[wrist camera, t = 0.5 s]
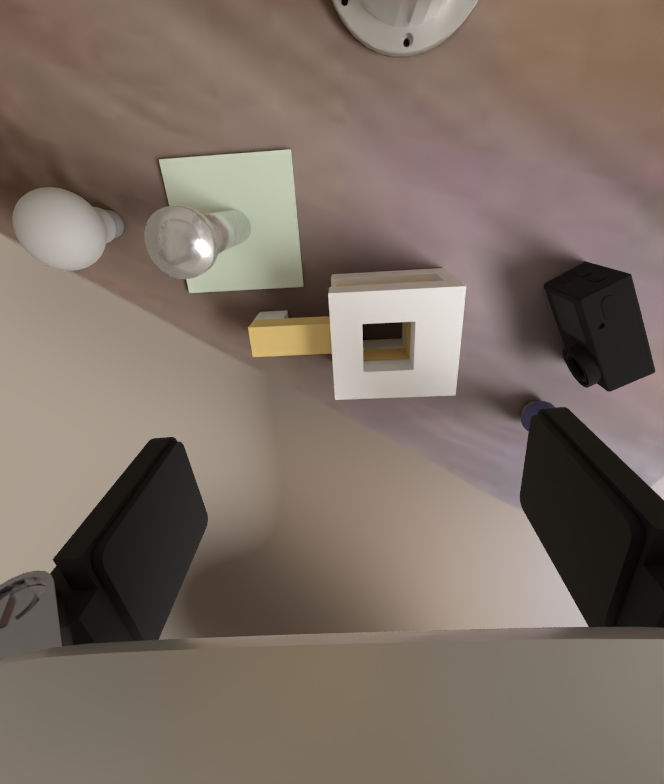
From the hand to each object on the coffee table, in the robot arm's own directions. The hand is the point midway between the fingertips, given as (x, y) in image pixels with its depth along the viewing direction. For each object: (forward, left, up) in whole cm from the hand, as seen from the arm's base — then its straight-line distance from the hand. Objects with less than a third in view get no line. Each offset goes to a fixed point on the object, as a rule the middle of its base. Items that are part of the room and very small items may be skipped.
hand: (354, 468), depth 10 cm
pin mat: (-4, -11, -32) cm, 34 cm away
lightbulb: (-5, -23, -32) cm, 40 cm away
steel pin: (-4, -11, -32) cm, 34 cm away
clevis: (+6, 0, -32) cm, 32 cm away
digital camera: (+6, +23, -32) cm, 40 cm away
